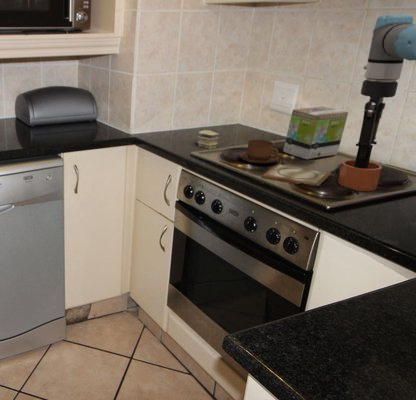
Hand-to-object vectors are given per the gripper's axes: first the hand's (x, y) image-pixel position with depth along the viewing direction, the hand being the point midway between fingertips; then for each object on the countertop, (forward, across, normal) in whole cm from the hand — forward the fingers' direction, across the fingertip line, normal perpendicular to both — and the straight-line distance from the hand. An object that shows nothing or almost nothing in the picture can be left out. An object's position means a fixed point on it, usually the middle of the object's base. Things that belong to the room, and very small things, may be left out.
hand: (360, 168), depth 129 cm
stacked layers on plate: (+5, -13, -49) cm, 51 cm away
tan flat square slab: (+5, +2, -15) cm, 16 cm away
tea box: (+5, -26, -18) cm, 32 cm away
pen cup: (+5, 0, 0) cm, 5 cm away
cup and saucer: (+5, -7, -29) cm, 30 cm away
